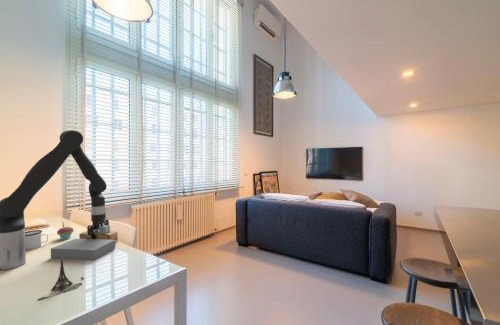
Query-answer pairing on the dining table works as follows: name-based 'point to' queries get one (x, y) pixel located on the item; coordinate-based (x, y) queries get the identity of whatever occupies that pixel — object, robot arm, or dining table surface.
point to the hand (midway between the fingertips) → (99, 239)
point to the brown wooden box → (100, 236)
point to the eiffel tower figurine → (63, 283)
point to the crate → (104, 229)
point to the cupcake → (65, 232)
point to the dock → (83, 249)
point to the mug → (33, 239)
